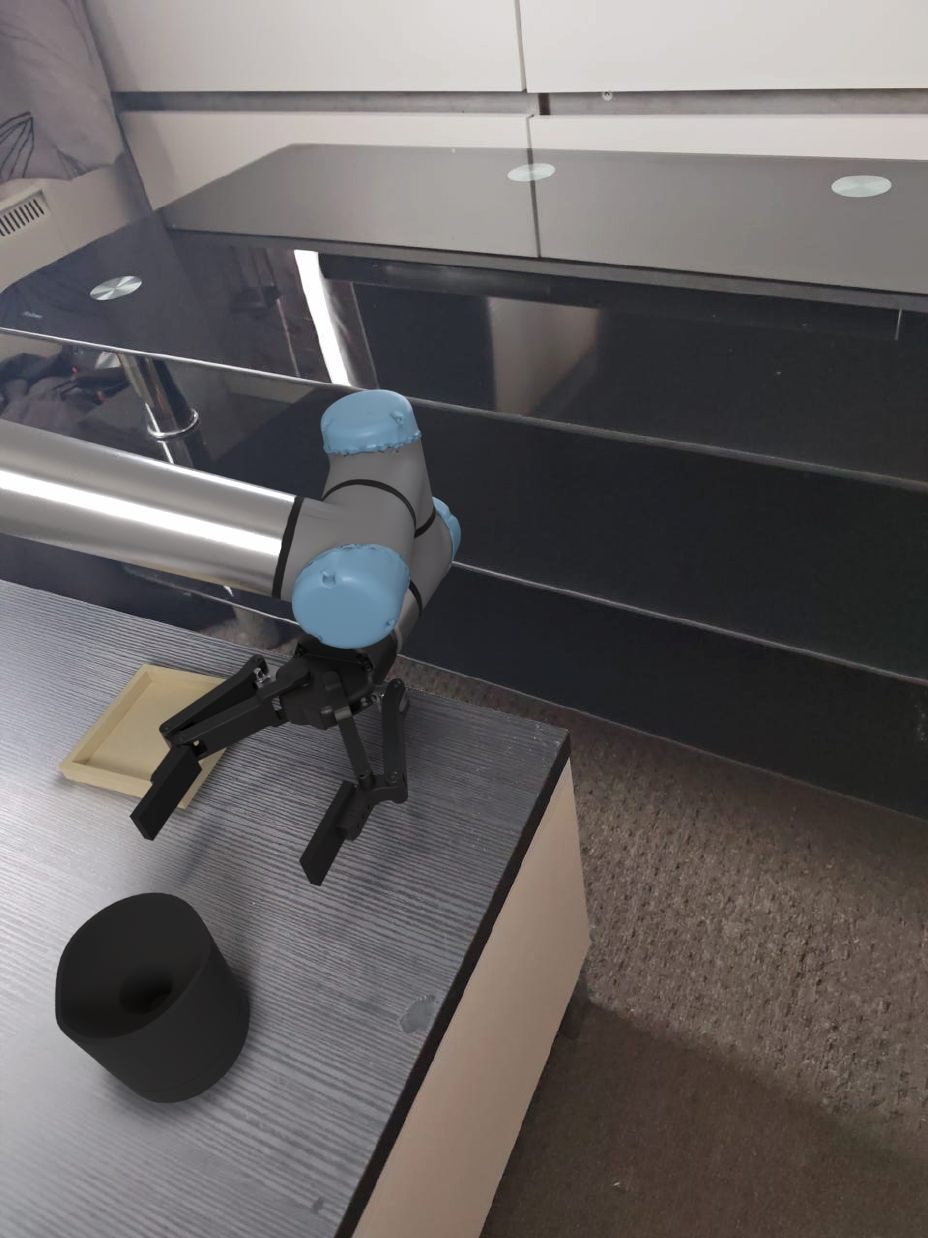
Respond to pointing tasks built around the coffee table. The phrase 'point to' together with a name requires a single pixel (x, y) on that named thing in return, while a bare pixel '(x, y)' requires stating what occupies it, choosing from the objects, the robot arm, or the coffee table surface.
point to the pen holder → (152, 997)
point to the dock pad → (138, 733)
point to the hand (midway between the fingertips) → (221, 851)
